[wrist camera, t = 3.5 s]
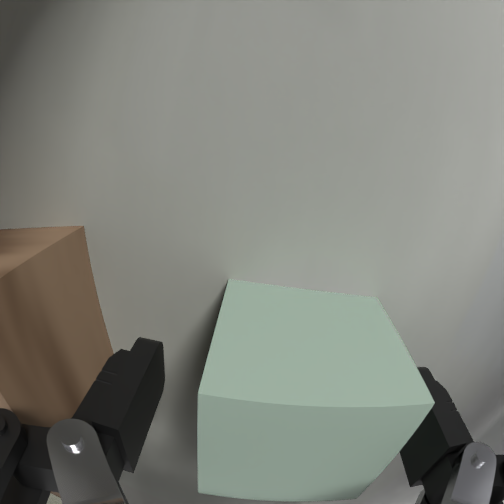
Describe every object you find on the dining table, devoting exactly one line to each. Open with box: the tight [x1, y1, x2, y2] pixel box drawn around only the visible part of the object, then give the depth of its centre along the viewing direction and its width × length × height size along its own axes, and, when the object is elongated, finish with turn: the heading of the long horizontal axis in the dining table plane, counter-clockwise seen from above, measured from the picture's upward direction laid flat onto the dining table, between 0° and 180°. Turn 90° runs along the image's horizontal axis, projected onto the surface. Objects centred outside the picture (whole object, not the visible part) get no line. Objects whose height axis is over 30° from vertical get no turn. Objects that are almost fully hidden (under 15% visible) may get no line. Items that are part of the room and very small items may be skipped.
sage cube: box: [197, 279, 435, 502], centre depth 8 cm, size 5×5×5 cm
